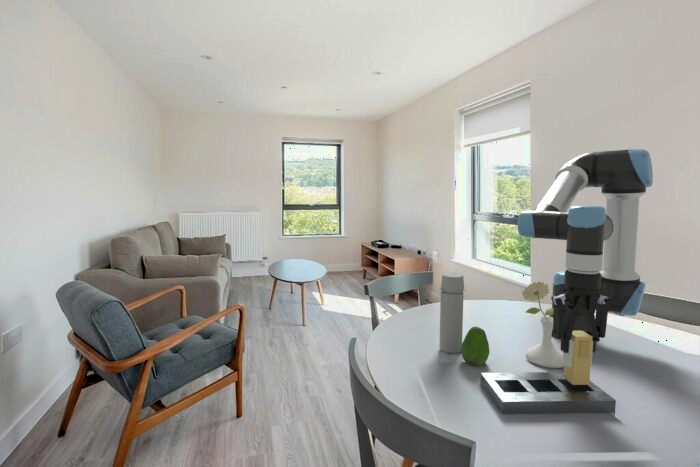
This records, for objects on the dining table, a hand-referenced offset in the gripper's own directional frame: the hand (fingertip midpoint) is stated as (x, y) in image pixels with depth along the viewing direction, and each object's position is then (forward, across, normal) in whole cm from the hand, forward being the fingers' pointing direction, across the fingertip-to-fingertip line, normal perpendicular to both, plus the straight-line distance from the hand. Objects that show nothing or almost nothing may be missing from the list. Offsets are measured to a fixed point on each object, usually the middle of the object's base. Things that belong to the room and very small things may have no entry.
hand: (576, 364), depth 93 cm
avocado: (+10, +18, -20) cm, 29 cm away
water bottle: (+10, +22, -32) cm, 40 cm away
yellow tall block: (+4, 0, 0) cm, 4 cm away
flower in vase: (+10, -3, -21) cm, 23 cm away
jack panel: (+9, +8, 0) cm, 12 cm away
